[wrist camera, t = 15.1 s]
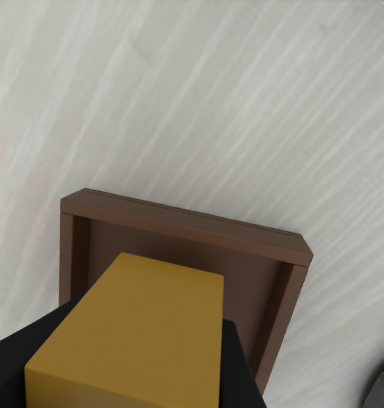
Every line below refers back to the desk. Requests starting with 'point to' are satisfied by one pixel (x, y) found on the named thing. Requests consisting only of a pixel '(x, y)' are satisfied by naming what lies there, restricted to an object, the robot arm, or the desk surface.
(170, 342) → the mustard block
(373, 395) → the pan
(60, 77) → the desk surface
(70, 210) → the tray
